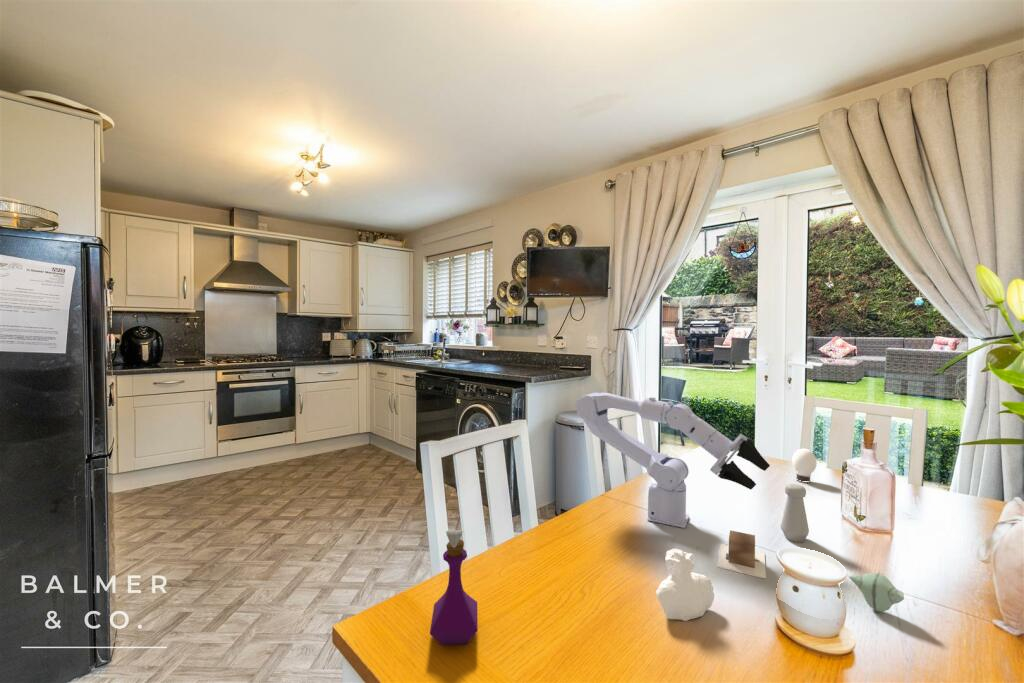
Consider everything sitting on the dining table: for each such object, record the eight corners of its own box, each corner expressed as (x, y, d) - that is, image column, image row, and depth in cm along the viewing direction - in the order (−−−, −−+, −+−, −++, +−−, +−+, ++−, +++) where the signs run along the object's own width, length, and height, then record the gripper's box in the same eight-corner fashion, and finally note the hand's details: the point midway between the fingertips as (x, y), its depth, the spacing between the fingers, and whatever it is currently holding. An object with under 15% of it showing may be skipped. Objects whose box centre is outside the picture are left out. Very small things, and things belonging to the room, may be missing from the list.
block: (728, 562, 95) (728, 539, 95) (729, 551, 99) (729, 530, 99) (754, 568, 92) (755, 545, 92) (754, 557, 97) (755, 535, 97)
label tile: (717, 567, 93) (717, 566, 93) (720, 544, 103) (720, 543, 103) (765, 578, 89) (765, 577, 89) (764, 554, 98) (764, 553, 98)
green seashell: (846, 602, 81) (847, 567, 81) (855, 595, 83) (856, 560, 83) (902, 627, 75) (903, 588, 74) (909, 618, 77) (911, 580, 77)
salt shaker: (813, 545, 103) (814, 490, 102) (786, 542, 104) (787, 489, 104) (802, 533, 108) (803, 482, 108) (776, 531, 110) (777, 480, 109)
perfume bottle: (434, 622, 76) (433, 520, 75) (477, 619, 76) (477, 518, 76) (429, 654, 68) (429, 541, 68) (477, 651, 69) (477, 539, 68)
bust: (707, 613, 82) (681, 549, 88) (734, 608, 76) (704, 539, 82) (655, 628, 77) (631, 560, 83) (679, 624, 72) (652, 551, 78)
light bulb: (787, 478, 149) (787, 446, 149) (805, 477, 150) (806, 445, 149) (802, 485, 142) (803, 451, 142) (821, 484, 143) (822, 451, 143)
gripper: (701, 446, 103) (755, 487, 97) (730, 415, 111) (781, 451, 105) (690, 461, 108) (740, 502, 102) (718, 430, 116) (767, 466, 109)
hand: (760, 477), depth 103 cm, fingers open, 7 cm apart
